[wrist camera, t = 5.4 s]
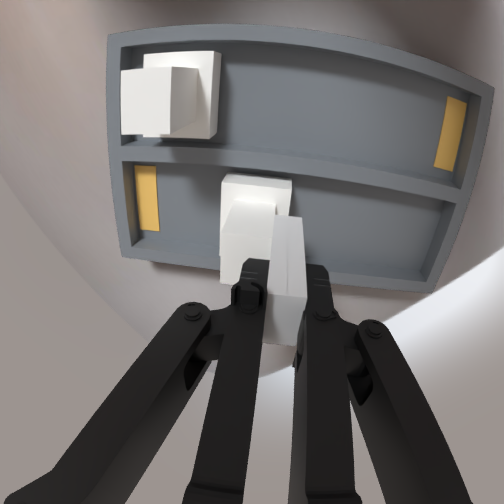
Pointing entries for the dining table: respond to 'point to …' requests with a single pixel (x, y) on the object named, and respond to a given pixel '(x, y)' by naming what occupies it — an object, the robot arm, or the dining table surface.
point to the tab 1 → (172, 95)
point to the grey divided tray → (306, 151)
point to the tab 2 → (249, 219)
